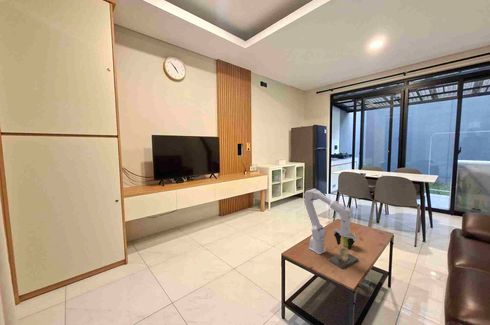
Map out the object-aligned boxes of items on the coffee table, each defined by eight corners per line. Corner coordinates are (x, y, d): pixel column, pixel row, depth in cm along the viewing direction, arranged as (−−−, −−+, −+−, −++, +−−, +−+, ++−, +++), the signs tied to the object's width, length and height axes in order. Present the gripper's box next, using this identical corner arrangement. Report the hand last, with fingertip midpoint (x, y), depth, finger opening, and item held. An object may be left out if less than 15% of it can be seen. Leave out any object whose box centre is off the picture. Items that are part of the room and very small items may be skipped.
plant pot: (356, 245, 154) (357, 234, 153) (352, 250, 147) (353, 239, 146) (343, 241, 160) (343, 230, 159) (339, 246, 153) (339, 235, 152)
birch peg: (338, 260, 135) (338, 248, 134) (342, 258, 137) (342, 247, 136) (344, 263, 131) (344, 251, 131) (347, 261, 134) (348, 249, 133)
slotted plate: (328, 260, 134) (328, 258, 134) (344, 253, 143) (344, 251, 143) (342, 269, 126) (342, 266, 126) (358, 260, 134) (358, 258, 134)
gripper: (331, 224, 136) (330, 243, 138) (352, 232, 124) (351, 253, 125) (337, 221, 140) (337, 240, 141) (359, 229, 127) (357, 250, 129)
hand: (344, 246), depth 133 cm, fingers open, 7 cm apart
